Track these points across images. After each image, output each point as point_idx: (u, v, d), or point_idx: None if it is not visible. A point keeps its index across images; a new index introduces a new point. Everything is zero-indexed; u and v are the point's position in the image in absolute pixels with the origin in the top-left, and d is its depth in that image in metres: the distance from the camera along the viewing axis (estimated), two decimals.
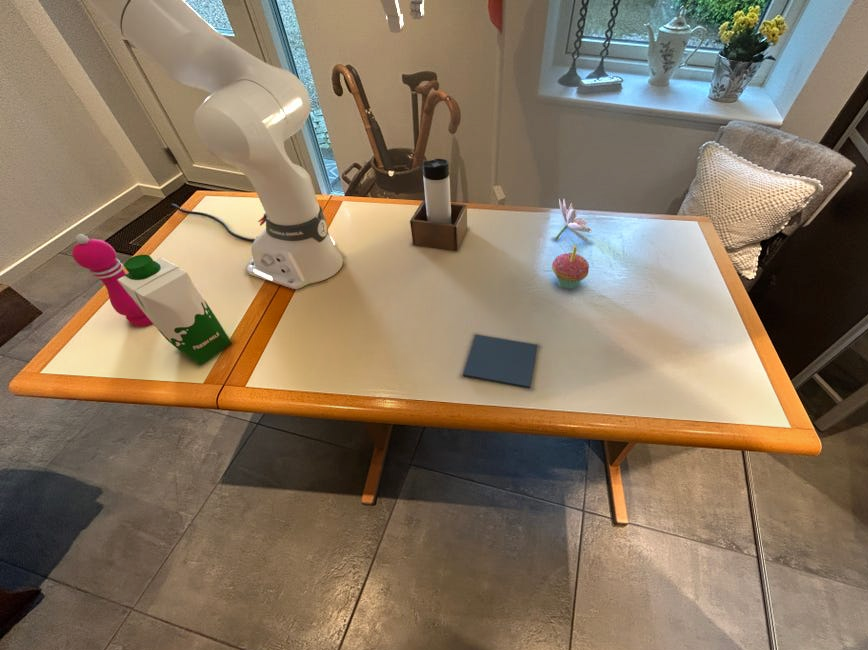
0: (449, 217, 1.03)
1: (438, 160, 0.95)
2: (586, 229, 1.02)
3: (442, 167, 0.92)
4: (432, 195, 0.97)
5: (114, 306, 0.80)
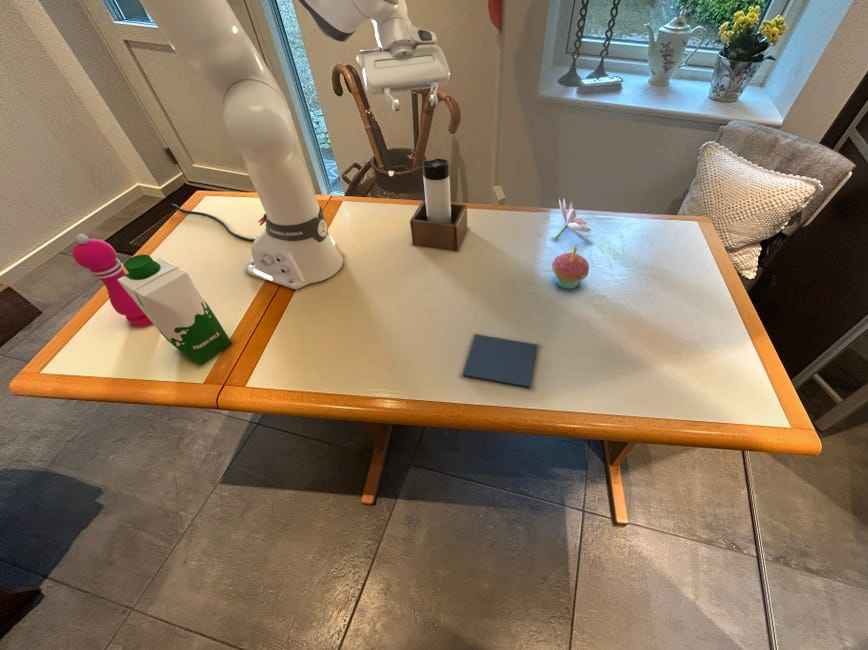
0: (449, 217, 1.03)
1: (438, 160, 0.95)
2: (586, 229, 1.02)
3: (442, 167, 0.92)
4: (432, 195, 0.97)
5: (114, 306, 0.80)
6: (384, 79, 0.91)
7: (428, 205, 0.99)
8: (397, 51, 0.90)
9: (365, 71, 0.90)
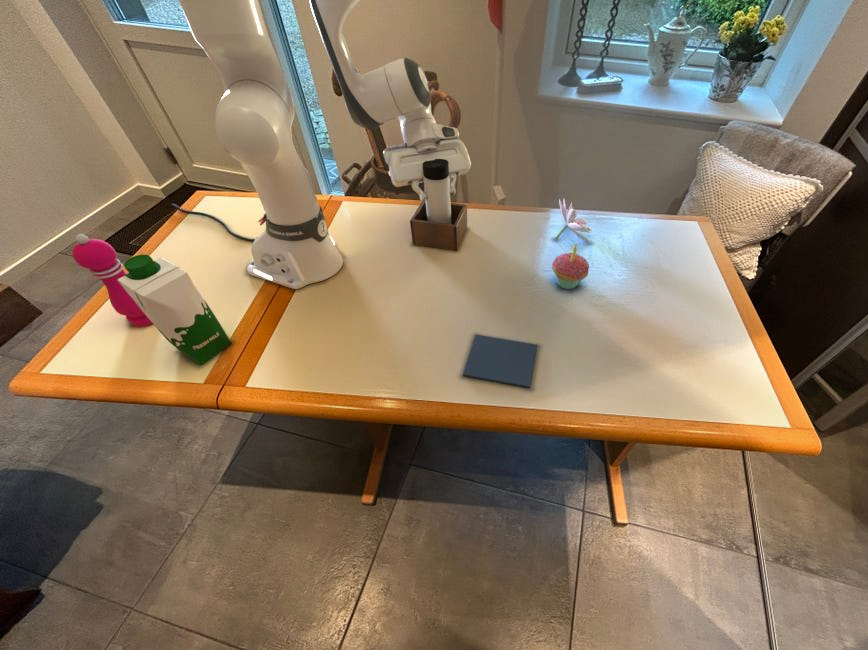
0: (449, 217, 1.03)
1: (438, 160, 0.95)
2: (586, 229, 1.02)
3: (442, 167, 0.92)
4: (432, 195, 0.97)
5: (114, 306, 0.80)
6: (409, 174, 0.95)
7: (428, 205, 1.00)
8: (422, 148, 0.95)
9: (392, 168, 0.94)
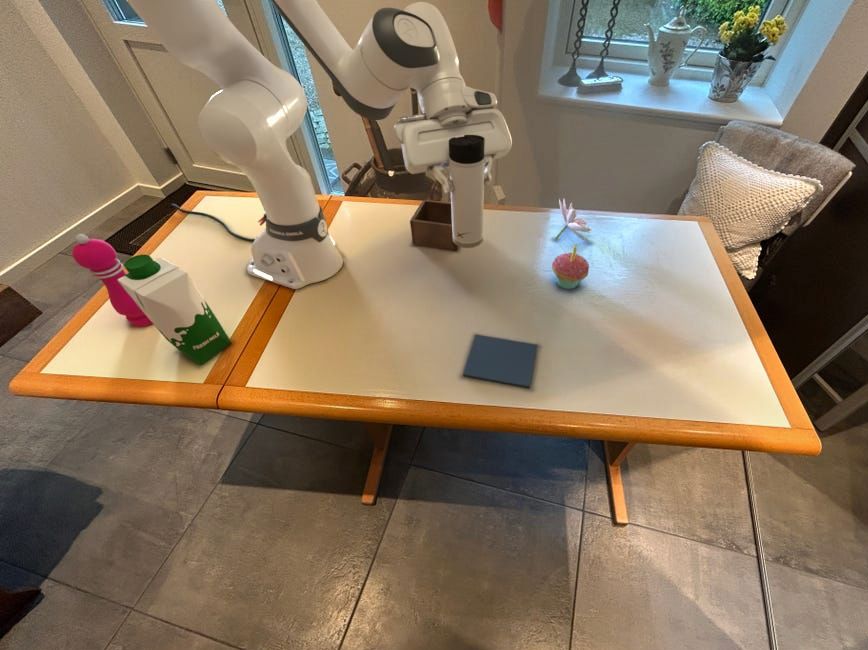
0: (481, 215, 0.77)
1: (470, 136, 0.69)
2: (586, 229, 1.02)
3: (477, 145, 0.66)
4: (461, 185, 0.71)
5: (114, 306, 0.80)
6: (430, 156, 0.69)
7: (454, 199, 0.74)
8: (447, 120, 0.69)
9: (406, 147, 0.68)
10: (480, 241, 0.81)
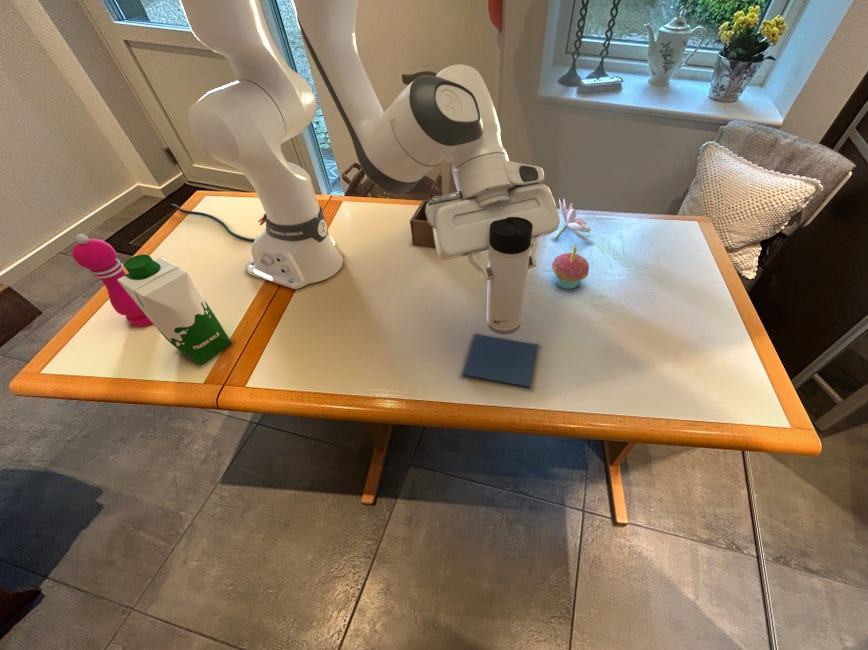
0: (522, 301, 0.67)
1: (514, 220, 0.59)
2: (586, 229, 1.02)
3: (525, 235, 0.55)
4: (502, 275, 0.60)
5: (114, 306, 0.80)
6: (467, 243, 0.59)
7: (493, 287, 0.63)
8: (488, 201, 0.59)
9: (440, 233, 0.58)
10: (518, 326, 0.70)
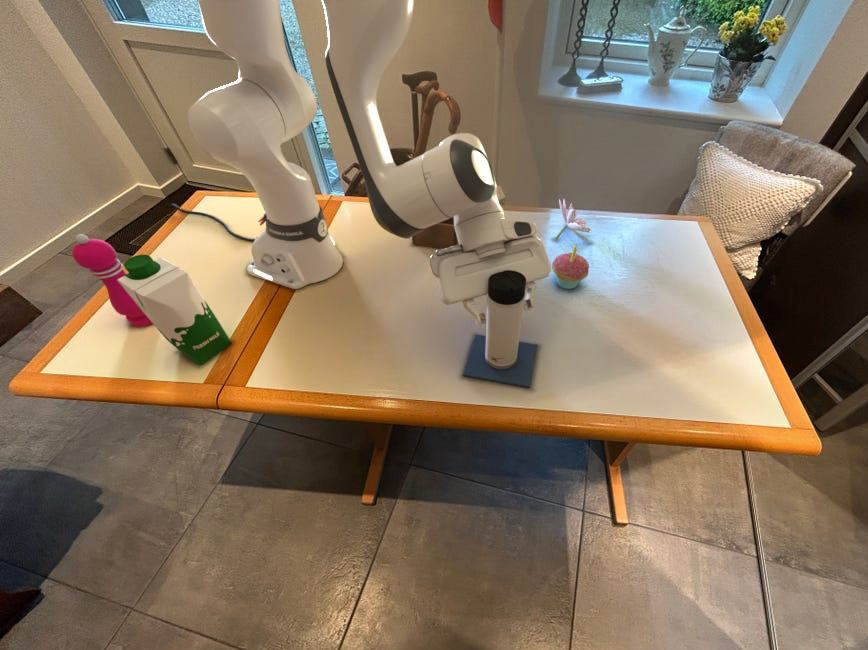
0: (517, 341, 0.74)
1: (509, 273, 0.66)
2: (586, 229, 1.02)
3: (519, 290, 0.63)
4: (499, 321, 0.68)
5: (114, 306, 0.80)
6: (467, 291, 0.66)
7: (491, 330, 0.71)
8: (486, 254, 0.66)
9: (443, 284, 0.65)
10: (514, 362, 0.78)
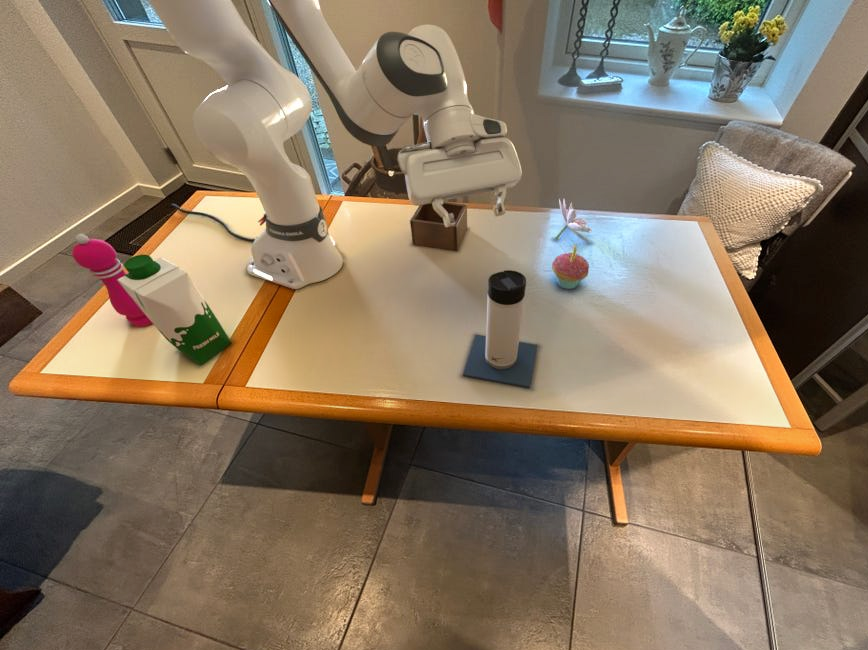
0: (517, 341, 0.74)
1: (509, 273, 0.66)
2: (586, 229, 1.02)
3: (519, 290, 0.63)
4: (499, 321, 0.68)
5: (114, 306, 0.80)
6: (436, 188, 0.65)
7: (491, 330, 0.71)
8: (454, 150, 0.65)
9: (410, 178, 0.64)
10: (514, 362, 0.78)
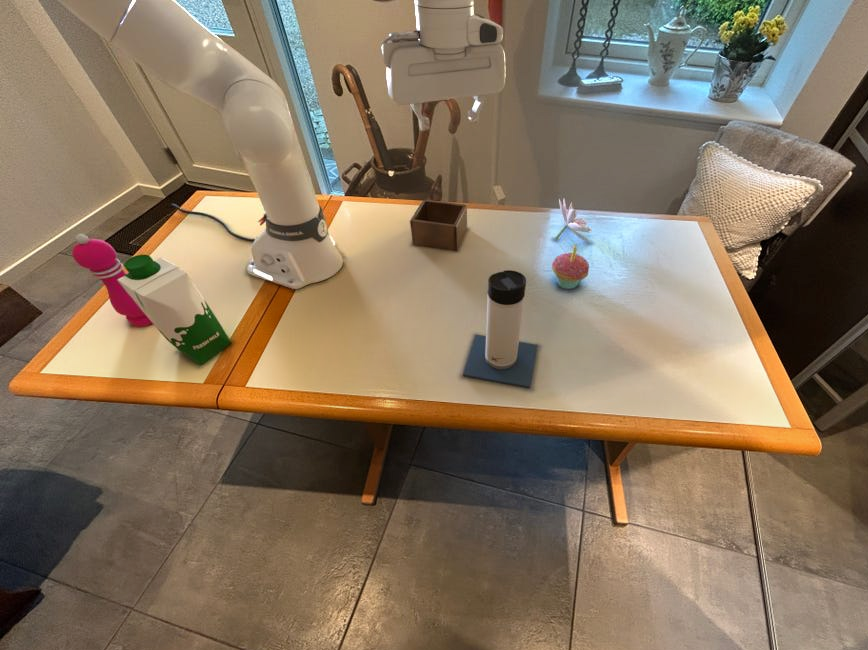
0: (517, 341, 0.74)
1: (509, 273, 0.66)
2: (586, 229, 1.02)
3: (519, 290, 0.63)
4: (499, 321, 0.68)
5: (114, 306, 0.80)
6: (417, 95, 0.65)
7: (491, 330, 0.71)
8: (443, 57, 0.62)
9: (393, 82, 0.63)
10: (514, 362, 0.78)
